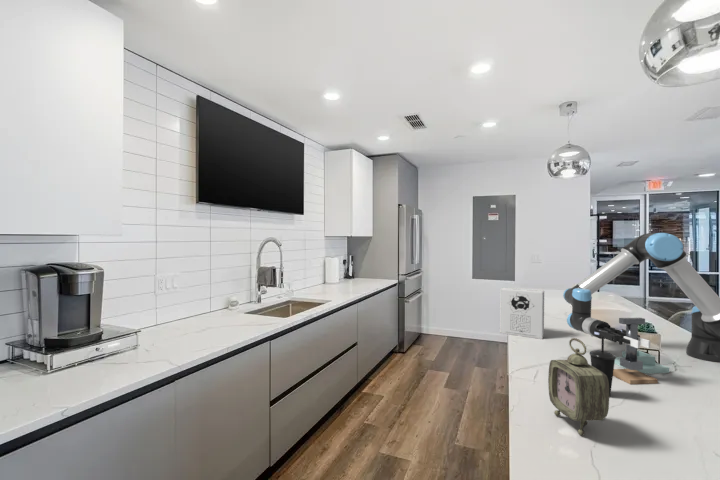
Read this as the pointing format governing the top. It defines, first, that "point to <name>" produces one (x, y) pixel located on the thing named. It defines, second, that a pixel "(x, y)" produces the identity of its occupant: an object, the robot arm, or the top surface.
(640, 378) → the walnut pad
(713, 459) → the top surface
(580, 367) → the tabletop clock
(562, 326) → the top surface
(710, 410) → the top surface
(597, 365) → the drinking cup
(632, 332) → the t key
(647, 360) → the square socket base
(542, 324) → the cereal box
